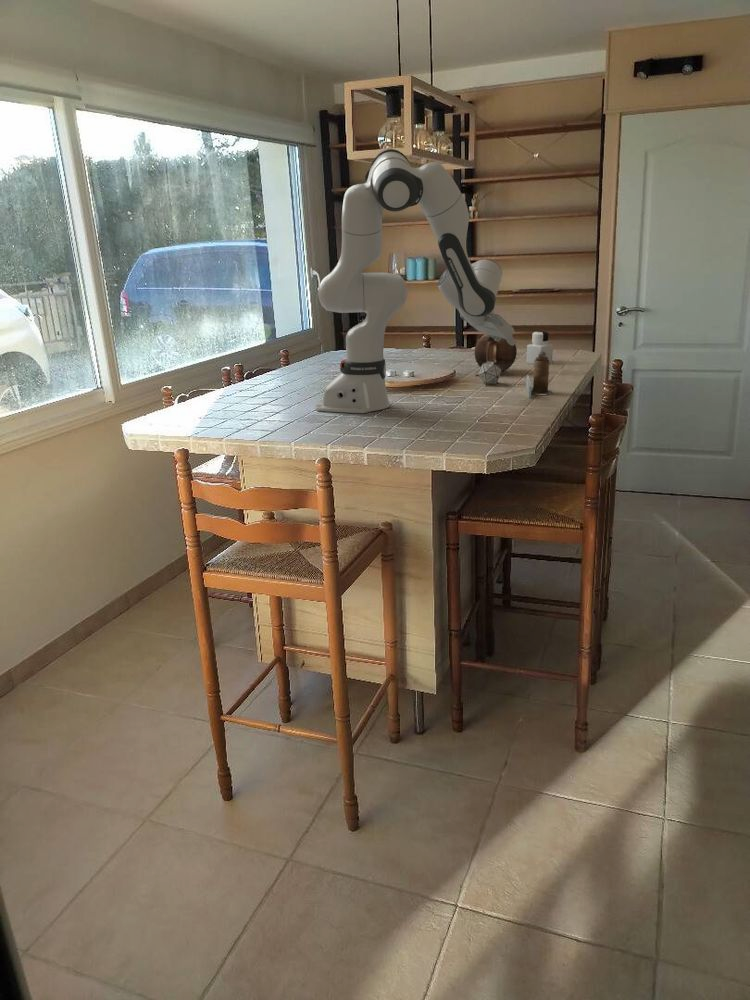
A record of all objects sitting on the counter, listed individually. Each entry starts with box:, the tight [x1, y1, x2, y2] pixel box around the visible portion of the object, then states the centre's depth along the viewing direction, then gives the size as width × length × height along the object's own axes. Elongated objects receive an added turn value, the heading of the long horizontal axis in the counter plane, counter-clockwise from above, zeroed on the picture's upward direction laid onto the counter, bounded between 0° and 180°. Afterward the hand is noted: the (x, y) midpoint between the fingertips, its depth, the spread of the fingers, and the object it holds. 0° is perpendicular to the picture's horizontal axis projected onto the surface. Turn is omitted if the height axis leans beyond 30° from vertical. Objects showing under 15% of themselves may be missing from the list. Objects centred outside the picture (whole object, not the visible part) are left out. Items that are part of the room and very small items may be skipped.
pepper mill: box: [532, 351, 550, 393], centre depth 240 cm, size 5×5×13 cm
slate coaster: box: [531, 389, 552, 395], centre depth 242 cm, size 7×7×1 cm
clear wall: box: [525, 374, 532, 399], centre depth 242 cm, size 1×18×4 cm, turn 172°
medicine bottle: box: [525, 330, 554, 365], centre depth 291 cm, size 7×7×12 cm
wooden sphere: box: [474, 333, 517, 373], centre depth 274 cm, size 15×15×15 cm
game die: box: [475, 360, 505, 387], centre depth 256 cm, size 9×8×10 cm
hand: (506, 341), depth 235 cm, fingers open, 8 cm apart
